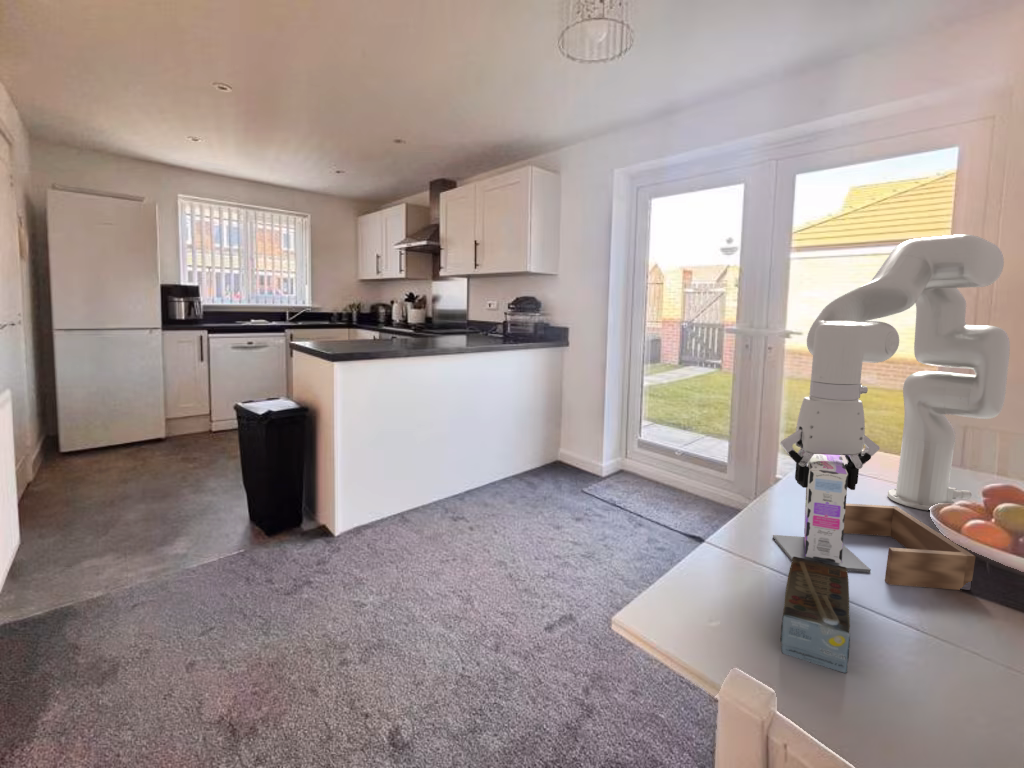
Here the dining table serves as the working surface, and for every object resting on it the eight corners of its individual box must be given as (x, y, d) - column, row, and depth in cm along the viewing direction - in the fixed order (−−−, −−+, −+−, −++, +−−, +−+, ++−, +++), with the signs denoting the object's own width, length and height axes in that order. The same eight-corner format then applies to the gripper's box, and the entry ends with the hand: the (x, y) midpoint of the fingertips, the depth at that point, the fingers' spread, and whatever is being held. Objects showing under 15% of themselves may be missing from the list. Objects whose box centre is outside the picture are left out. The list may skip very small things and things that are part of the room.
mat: (837, 541, 100) (837, 539, 100) (870, 572, 88) (870, 569, 88) (772, 537, 102) (773, 534, 101) (796, 567, 90) (797, 564, 90)
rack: (893, 534, 103) (896, 506, 103) (970, 590, 82) (975, 556, 82) (829, 530, 105) (831, 502, 104) (888, 584, 84) (892, 550, 83)
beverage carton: (776, 654, 67) (780, 608, 66) (788, 588, 83) (791, 551, 82) (847, 677, 63) (853, 628, 62) (845, 603, 79) (849, 564, 78)
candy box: (843, 565, 87) (849, 473, 85) (803, 557, 90) (808, 469, 88) (837, 534, 99) (842, 453, 97) (803, 528, 102) (807, 450, 100)
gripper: (875, 389, 93) (865, 481, 95) (774, 387, 95) (768, 477, 98) (900, 396, 85) (888, 496, 88) (790, 394, 88) (782, 491, 91)
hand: (825, 485), depth 93 cm, fingers closed on candy box, 7 cm apart
